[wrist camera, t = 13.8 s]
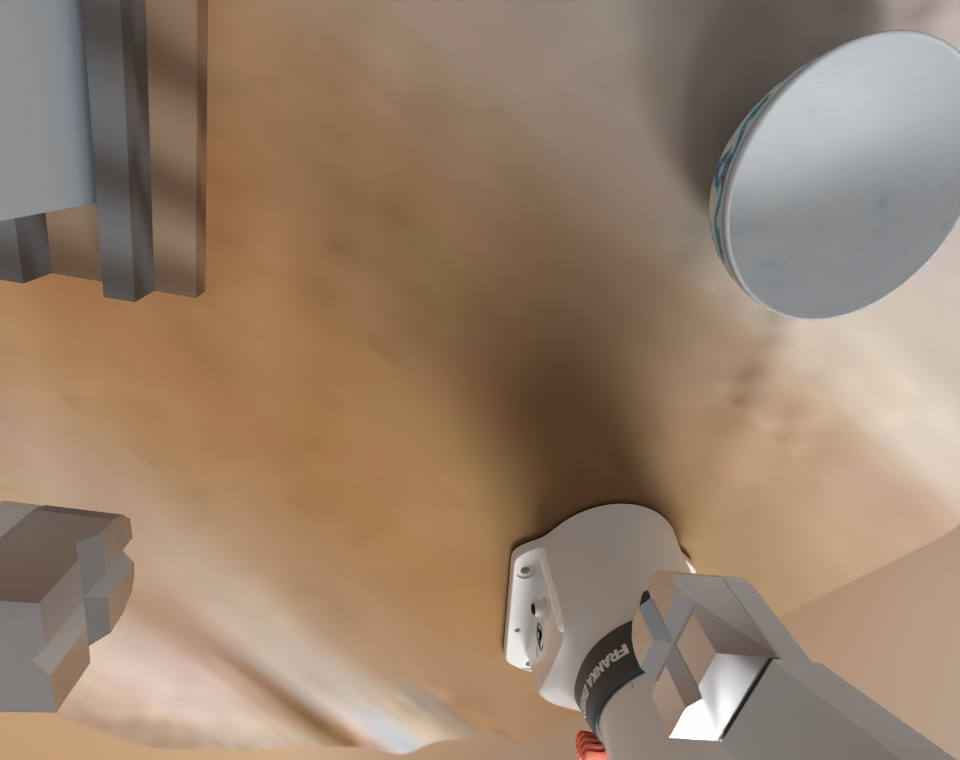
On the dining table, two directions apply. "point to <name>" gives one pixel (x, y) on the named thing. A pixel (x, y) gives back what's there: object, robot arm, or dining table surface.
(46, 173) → the door panel
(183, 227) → the track base
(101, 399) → the dining table surface
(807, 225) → the chinaware
